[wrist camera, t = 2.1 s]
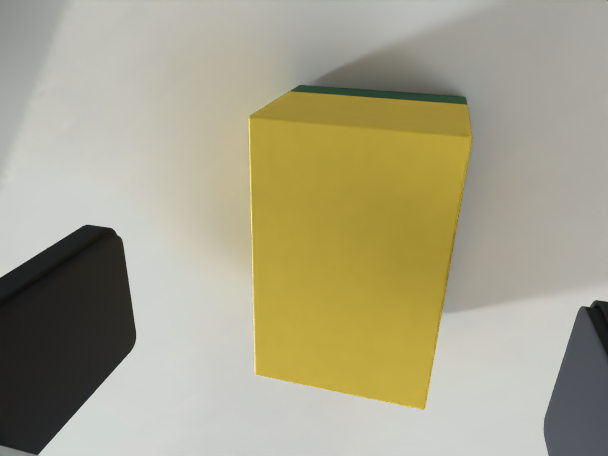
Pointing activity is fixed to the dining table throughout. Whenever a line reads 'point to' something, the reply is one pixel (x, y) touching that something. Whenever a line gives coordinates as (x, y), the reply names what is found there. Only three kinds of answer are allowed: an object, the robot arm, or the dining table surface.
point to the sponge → (354, 236)
